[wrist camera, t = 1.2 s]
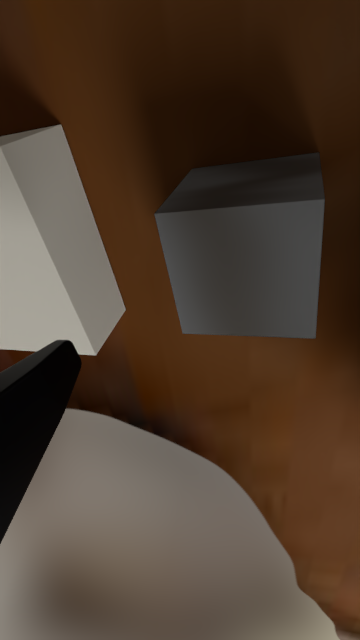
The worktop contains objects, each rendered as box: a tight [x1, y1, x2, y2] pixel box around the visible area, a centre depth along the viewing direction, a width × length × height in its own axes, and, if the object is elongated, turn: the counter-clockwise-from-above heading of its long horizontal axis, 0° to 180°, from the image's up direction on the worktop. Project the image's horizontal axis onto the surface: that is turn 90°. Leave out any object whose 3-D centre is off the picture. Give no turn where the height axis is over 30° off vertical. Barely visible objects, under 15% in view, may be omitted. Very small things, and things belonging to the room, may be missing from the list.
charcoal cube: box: [155, 152, 325, 338], centre depth 13 cm, size 5×5×5 cm
